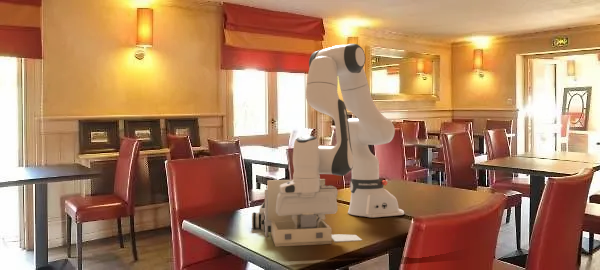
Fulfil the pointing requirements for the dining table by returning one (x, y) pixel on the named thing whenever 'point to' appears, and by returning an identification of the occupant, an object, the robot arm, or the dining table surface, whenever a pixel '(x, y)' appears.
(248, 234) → the dining table surface
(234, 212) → the dining table surface
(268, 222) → the case
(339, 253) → the dining table surface
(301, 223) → the block
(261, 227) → the camera
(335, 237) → the mat
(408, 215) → the dining table surface
